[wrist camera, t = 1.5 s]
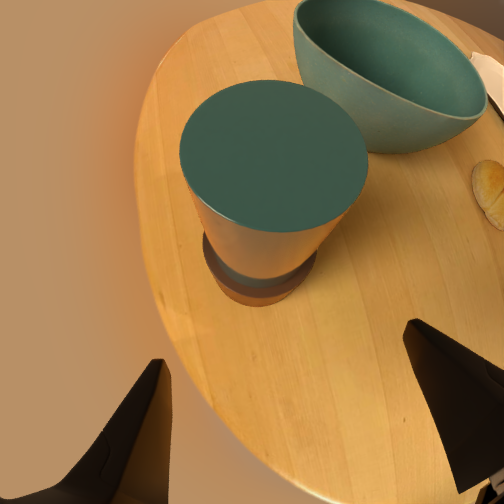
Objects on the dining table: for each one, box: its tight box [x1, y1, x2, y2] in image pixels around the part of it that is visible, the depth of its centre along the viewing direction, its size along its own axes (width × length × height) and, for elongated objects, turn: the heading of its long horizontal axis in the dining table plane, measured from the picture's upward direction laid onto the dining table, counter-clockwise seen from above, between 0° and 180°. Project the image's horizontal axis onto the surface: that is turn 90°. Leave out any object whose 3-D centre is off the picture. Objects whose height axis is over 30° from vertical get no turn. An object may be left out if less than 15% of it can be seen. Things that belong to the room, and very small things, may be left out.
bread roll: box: [472, 160, 504, 231], centre depth 25 cm, size 8×9×4 cm
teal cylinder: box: [179, 80, 368, 288], centre depth 13 cm, size 6×6×10 cm
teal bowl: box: [293, 0, 488, 154], centre depth 23 cm, size 18×18×12 cm
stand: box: [203, 231, 317, 307], centre depth 21 cm, size 7×7×6 cm
